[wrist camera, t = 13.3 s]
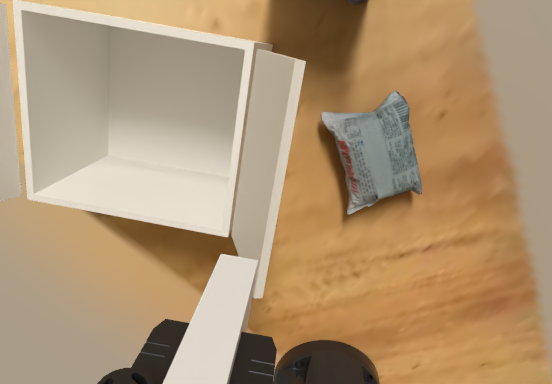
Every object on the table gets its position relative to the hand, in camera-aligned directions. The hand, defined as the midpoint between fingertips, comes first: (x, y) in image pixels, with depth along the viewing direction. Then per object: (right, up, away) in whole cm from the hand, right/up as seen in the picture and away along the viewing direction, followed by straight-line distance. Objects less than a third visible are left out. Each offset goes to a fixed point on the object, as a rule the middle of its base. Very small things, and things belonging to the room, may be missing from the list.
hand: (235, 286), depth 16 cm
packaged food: (+12, +9, +29) cm, 32 cm away
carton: (-9, +14, +28) cm, 33 cm away
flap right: (0, +5, +11) cm, 12 cm away
